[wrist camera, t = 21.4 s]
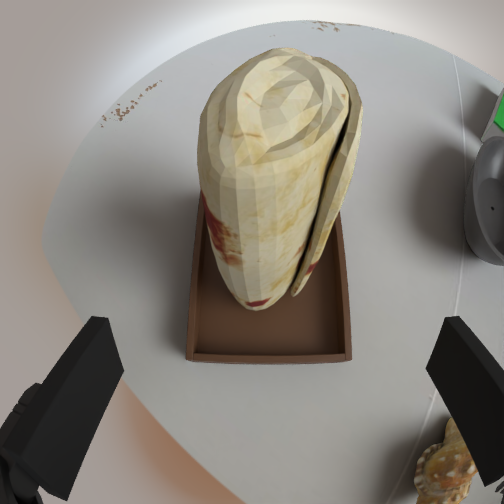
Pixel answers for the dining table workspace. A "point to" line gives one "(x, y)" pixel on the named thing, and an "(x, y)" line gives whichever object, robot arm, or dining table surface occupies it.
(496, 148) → the bowl
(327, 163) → the food model
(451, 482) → the seashell
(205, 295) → the serving tray
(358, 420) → the dining table surface
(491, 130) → the tray
